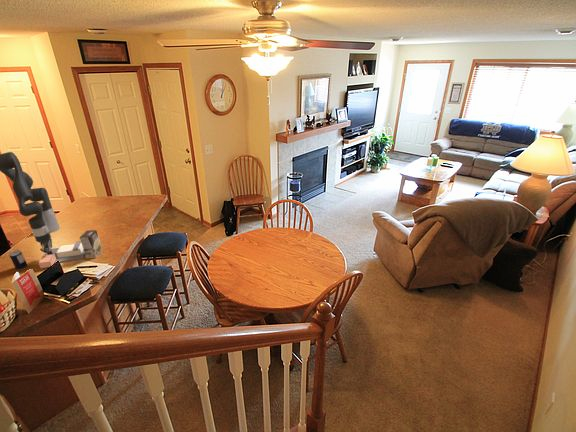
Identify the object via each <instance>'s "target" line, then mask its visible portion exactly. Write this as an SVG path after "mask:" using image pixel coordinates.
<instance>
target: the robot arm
mask: <svg viewBox="0 0 576 432" xmlns="http://www.w3.org/2000/svg"><path fill="white" fill-rule="evenodd" d="M0 172H1V173H2V174H4V175H5V176H6V177H7V178H9V180H10V181H11V182H12V190H13V193H14V194H15V196H16V199H17V201H18V210H19V213H20V215H21V216H23V217H30V216H32V217H30V218H29V219H28V221H27V222H28V224H29V226H30V228H31V232H32V234H33V237H34V238H35V241H36V242H37V243H39V244H40V247H41V248H40V251H41V252H43V253H45V254H46V253H47V254H48V255H51V254H53V253H52V251H51V250H52V249H53V240H52V235H51V234H50V233H54V232H56V231H58V230H59V229H60V225H59V222H58V219H57V217H56V214H55V211H54V209H53V207H52V206H53V205H52V203H51V200H50V197H49V194H48V191H47V189H46V188H45V187H35V188H32V187H33V185H34V180H33V177H31V176H30V175H29V174H28V173H27V172H26V171H24V170H23V167H22V165H21V162H20V159H18V156H17V155H16V154H15V153H14V152H12V151H9V152H4V153H0ZM27 201H28V202H27ZM29 201H30V202H29ZM26 202H27V203H26Z"/></svg>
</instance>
